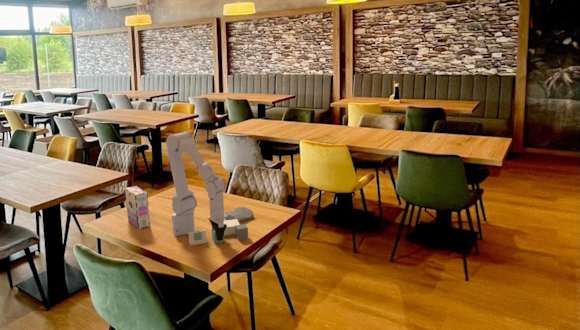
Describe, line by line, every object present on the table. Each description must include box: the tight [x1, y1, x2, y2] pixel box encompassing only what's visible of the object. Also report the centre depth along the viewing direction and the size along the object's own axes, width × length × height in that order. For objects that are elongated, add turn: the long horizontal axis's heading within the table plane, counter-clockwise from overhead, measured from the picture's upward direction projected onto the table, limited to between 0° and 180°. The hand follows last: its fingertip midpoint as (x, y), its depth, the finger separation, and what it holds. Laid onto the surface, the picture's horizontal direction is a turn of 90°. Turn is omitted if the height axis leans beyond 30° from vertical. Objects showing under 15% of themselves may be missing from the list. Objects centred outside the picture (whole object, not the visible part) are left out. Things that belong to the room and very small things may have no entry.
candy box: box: [124, 185, 151, 230], centre depth 214 cm, size 14×6×16 cm, turn 37°
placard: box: [188, 229, 208, 246], centre depth 195 cm, size 7×3×5 cm, turn 111°
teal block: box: [211, 228, 226, 244], centre depth 197 cm, size 4×4×5 cm
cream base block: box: [224, 219, 241, 236], centre depth 207 cm, size 8×8×4 cm
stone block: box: [224, 206, 255, 223], centre depth 222 cm, size 12×5×10 cm
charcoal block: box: [234, 223, 249, 241], centre depth 200 cm, size 4×4×5 cm
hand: (218, 237), depth 197 cm, fingers open, 6 cm apart
